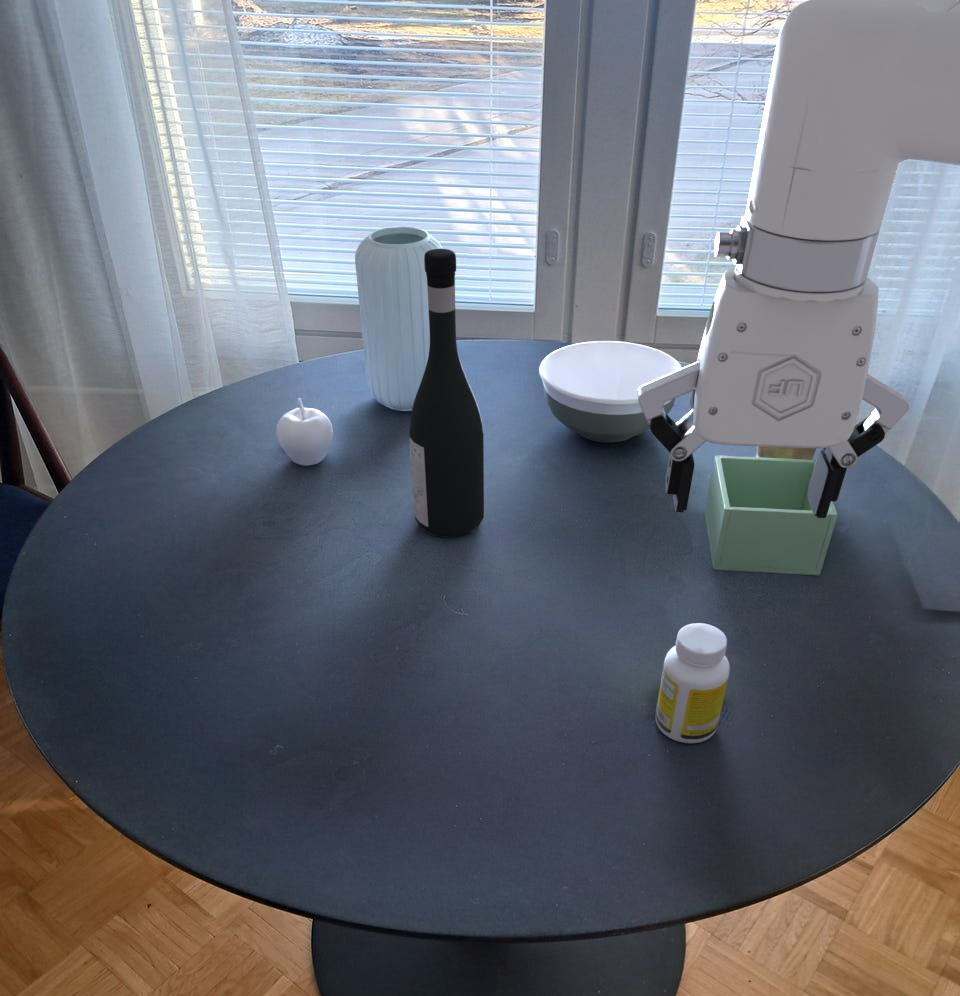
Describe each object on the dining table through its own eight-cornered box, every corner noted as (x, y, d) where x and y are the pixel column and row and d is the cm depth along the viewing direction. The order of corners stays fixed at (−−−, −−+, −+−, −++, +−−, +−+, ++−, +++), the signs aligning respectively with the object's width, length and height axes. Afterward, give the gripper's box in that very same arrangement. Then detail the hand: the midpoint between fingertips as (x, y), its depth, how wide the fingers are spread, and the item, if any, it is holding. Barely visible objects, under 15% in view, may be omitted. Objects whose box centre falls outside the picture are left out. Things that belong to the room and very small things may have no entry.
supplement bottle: (726, 716, 80) (747, 632, 73) (701, 754, 76) (720, 669, 70) (670, 693, 82) (685, 609, 76) (643, 729, 79) (657, 644, 72)
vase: (353, 409, 126) (336, 243, 112) (391, 376, 134) (379, 217, 120) (428, 423, 123) (419, 254, 108) (461, 389, 131) (458, 227, 116)
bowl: (520, 449, 117) (521, 389, 112) (556, 389, 130) (559, 333, 125) (664, 471, 112) (672, 410, 107) (686, 406, 126) (694, 349, 121)
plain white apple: (332, 442, 119) (324, 384, 114) (339, 468, 114) (332, 409, 109) (278, 449, 118) (268, 391, 112) (284, 475, 112) (274, 416, 107)
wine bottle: (408, 538, 102) (388, 264, 82) (421, 501, 108) (406, 237, 88) (479, 543, 101) (476, 268, 81) (488, 506, 107) (488, 240, 87)
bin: (802, 518, 104) (818, 459, 99) (820, 575, 96) (837, 514, 91) (704, 513, 105) (714, 455, 100) (712, 569, 97) (724, 509, 92)
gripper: (661, 272, 51) (627, 528, 62) (976, 281, 50) (885, 540, 61) (651, 232, 56) (622, 473, 67) (934, 239, 55) (857, 483, 67)
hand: (746, 504), depth 64 cm, fingers open, 9 cm apart
